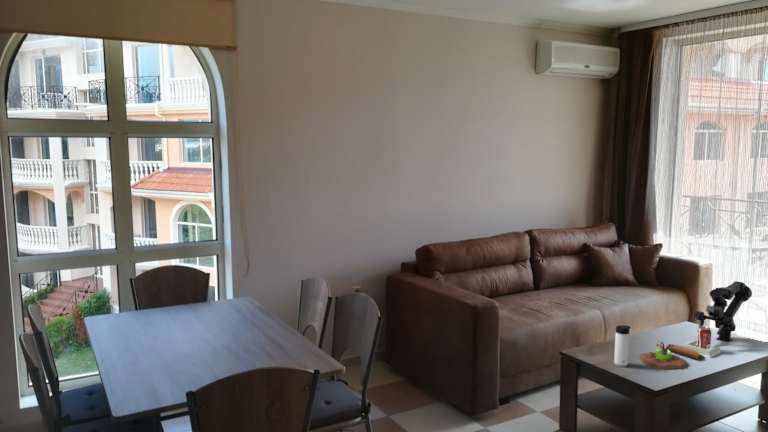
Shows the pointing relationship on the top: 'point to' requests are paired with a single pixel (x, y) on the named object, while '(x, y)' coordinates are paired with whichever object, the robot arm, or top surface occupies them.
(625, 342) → the travel mug
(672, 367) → the plant
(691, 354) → the sunglasses case
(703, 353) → the can rack
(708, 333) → the soda can
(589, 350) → the top surface
